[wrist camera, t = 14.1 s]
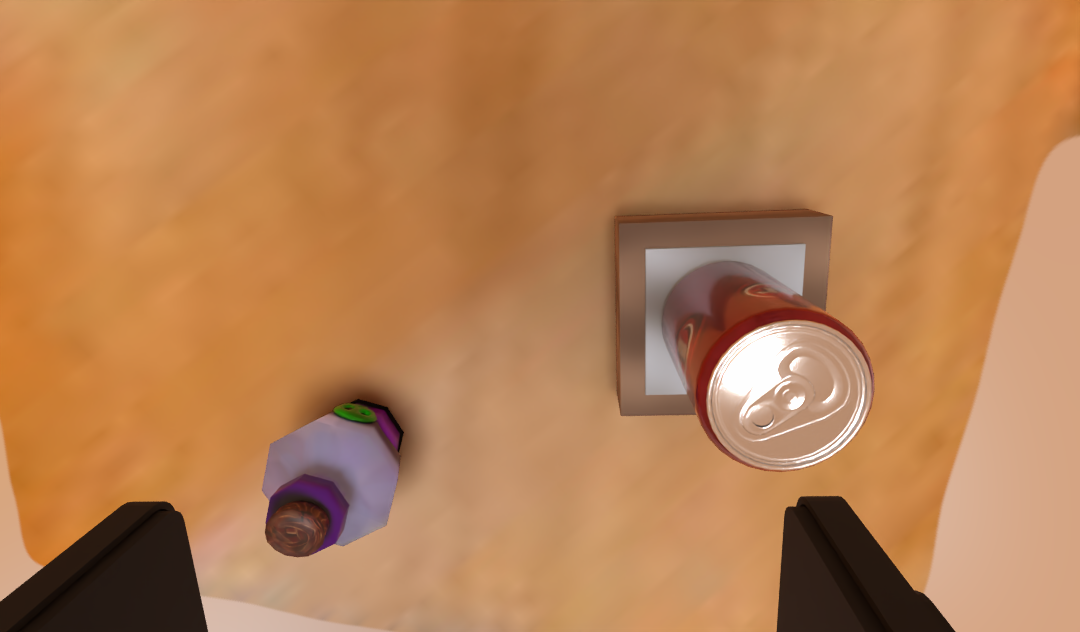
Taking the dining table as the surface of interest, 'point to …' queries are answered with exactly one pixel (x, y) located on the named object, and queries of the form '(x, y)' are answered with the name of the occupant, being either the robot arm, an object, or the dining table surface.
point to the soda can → (766, 367)
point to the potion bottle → (332, 479)
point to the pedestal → (680, 248)
